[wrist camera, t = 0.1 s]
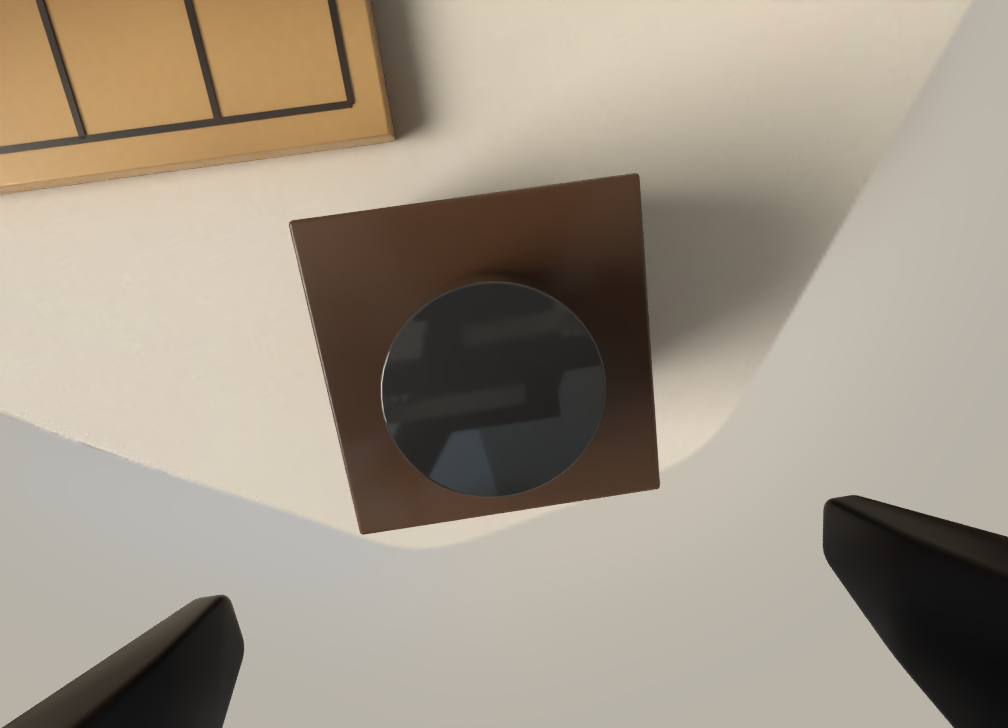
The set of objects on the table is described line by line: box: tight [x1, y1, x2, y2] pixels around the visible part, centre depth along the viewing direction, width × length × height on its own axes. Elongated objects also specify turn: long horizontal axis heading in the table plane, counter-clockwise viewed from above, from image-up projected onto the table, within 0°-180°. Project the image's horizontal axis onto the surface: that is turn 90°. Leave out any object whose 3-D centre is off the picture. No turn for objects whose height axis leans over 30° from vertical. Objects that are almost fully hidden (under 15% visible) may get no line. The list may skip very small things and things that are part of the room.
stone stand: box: [289, 173, 660, 535], centre depth 15 cm, size 7×7×8 cm
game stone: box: [380, 272, 606, 498], centre depth 10 cm, size 4×4×2 cm
